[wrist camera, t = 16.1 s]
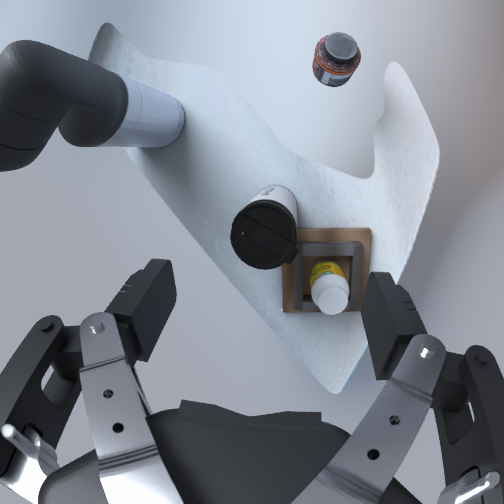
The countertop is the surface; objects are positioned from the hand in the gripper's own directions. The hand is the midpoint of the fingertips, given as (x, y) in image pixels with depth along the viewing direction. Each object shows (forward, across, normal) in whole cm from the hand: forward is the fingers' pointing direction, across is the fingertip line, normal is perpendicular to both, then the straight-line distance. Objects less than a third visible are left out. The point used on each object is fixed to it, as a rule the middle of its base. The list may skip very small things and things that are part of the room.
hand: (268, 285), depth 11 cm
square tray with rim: (+31, -8, +19) cm, 37 cm away
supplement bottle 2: (+30, -8, +18) cm, 36 cm away
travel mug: (+33, 0, +9) cm, 34 cm away
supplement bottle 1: (+37, -7, -13) cm, 40 cm away
